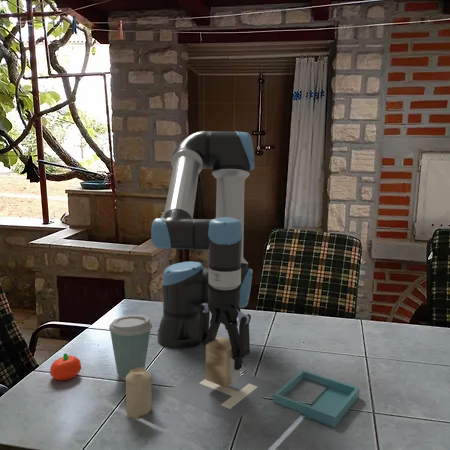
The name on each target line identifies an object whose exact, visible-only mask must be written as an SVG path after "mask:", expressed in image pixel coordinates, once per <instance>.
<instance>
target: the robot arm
mask: <svg viewBox="0 0 450 450" xmlns="http://www.w3.org/2000/svg"><path fill="white" fill-rule="evenodd" d="M254 152H255V151H254V146H253V139H252V135H250V133H249V132H247V131H246V132H245V131H237V130H235V131H215V130H213V131H212V130H209V131H208V130H201V131H196V132H194V133H191V134H190V135H188V136H187V137H185V138H184V139H182V141H180V142H179V144H177V145H176V147H175V149H174V150H173V153H172V156H171V161H170V162H171V163H170V164H171V168H172V173H171V177H170V182H169V186H168V193H167V196H166V203H165V205H164V212H163V215H162V216H163V217H160V218H159V217H157V218H154V219H153V221H152V224H151V230H150V231H151V232H150V234H151V235H150V236H151V237H150V238H151V243H152V245H153V247H155V248H157V249H167V250H175V249H176V250H208V268H207V267H203V265H202V263H201V262H199V261H183V262H178V263H173V264H171V265H169V266H167V267H165V268H164V271H163V276H162V277H163V278H162V283H161V285H162V309H163V311H162V312H163V313H162V317H161V321H160V324H159V327H158V330H157V342H158V343H159V344H160V345H162V346H165V347H168V348H170V349H171V348H172V349H191V348H196V347H198V346H200V345H201V344H202V345H203V346H204V350H205V351H204V353H205V354H204V356H205V357H204V358H205V359H206V345H207V344H208V343H210V342H212V341H213V340H215V339H217V338H216V337H217V335H218V332H219V329H220V325H221V324H222V325H223V326H224V328H225V330H226V331H227V334H228V339H230V343H231V348H232V352H233V356H232V357H231V358H230V383H232V384H233V383H234V382H235V381H237V380H238V379H239V369H240V370H241V369H242V367H243V358H245V357H246V356H248V355H249V354H251V350H250V349H251V344H250V343H251V341H250V322H251V319H252V316H251V314H249V313H247V314H245V313H243V312H242V311H241V308H245V307H246V306H247V305H248V304H249V300H250V294H251V290H252V289H251V288H252V281H253V280H252V279H253V273H254V272H253V269H252V268H249V262H248V261H247V260H246V259H245V258H244V238H245V237H244V233H245V232H244V230H245V229H244V227H245V181H246V179H248V177H249V176H250V172H251V171H253V170H254V169H255V155H254ZM205 169H206V170H212V172H211V173H212V176H213V177H214V178H215V179H216V200H215V201H216V204H215V205H216V206H215V217H214V218H213V219H211V218H194V211H195V203H196V195H197V189H198V188H197V187H198V182H199V174H200V173H201V171H202V170H205ZM210 315H211V316H210ZM237 318H238V319H237Z"/></svg>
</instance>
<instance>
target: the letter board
mask: <svg viewBox="0 0 450 450" xmlns="http://www.w3.org/2000/svg"><path fill="white" fill-rule="evenodd" d="M244 373H245V374H244V375H243V376H241V377H240V378H239V379H238V380H237V381H235V382H234V383H233V384H230V385H229V386H228V387H226V388H225V387H223V386H220V385H218V384H215V383H213V382H210V381H208V380H206V366H205V367H204V368H202V369H201V370H199V371H197V372H196V373H193V374H192V375H190V377H188V378H186V379H185V380H183V381H182V382H180V383H178V384H176V385H175V386H173V387H172V388H170V389H169V390H167V391H166V392H164V393H163V394H164V395H167V396H169V397H171V398H173V399H175V400H178V401H180V402H183V403H184V404H187V405H189V406H192V407H195V408H197V409H199V410H201V411H203V412H205V413H208V414H211V415H213V416H215V417H218V418H220V419H222V420H224V421H226V422H230V423H232V424H235V423H236V422H238V421H239V420H240V419H241V418H243V416H244V415H246V414H247V413H248V412H249V411H250V410H252V409H253V408H254V407H255V406H256V405H257V404H258V403H260V402H261V401H262V400H264V399H265V398H266V397H267V396H268V395H269V394H270V393H272V392H273V391H274V390H275V389H277V387H279V386H280V384H279V383H275V382H272V381H269V380H267V379H264V378H261V377H259V376H255V375H252V374H249V373H247V372H244Z"/></svg>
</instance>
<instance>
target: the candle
mask: <svg viewBox="0 0 450 450" xmlns="http://www.w3.org/2000/svg"><path fill="white" fill-rule="evenodd" d="M125 399H126V401H125V403H126V415H127V416H128V418H131V419H134V420H140V419H143V417H142V416H145V415H147V414H149V413H150V412H151V411H152V403H153V402H152V401H153V400H152V374H151V373H150V372H149V371H148V370H147V369H144V368H136V369H134V370H131V371H130V373H129V374H128V375H127V376H126V380H125Z"/></svg>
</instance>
